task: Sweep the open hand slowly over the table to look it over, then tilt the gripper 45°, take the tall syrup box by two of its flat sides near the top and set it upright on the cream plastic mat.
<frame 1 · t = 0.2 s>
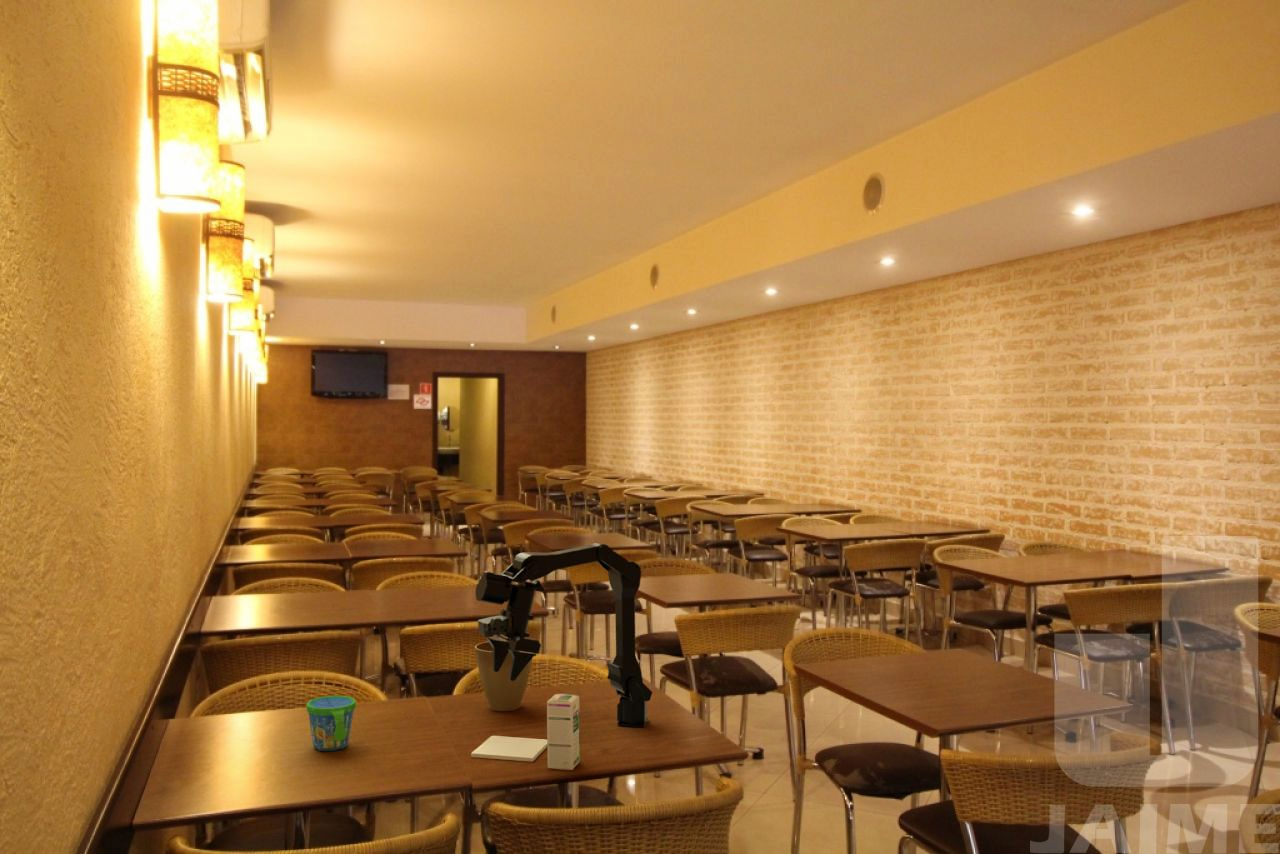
hand: (503, 676, 234), 15 cm above the table, tool pointing down, fingers open, 9 cm apart
plant pot: (504, 708, 263), on the table
syrup box: (563, 766, 220), on the table
cream mat: (511, 750, 229), on the table
snack cup: (331, 747, 231), on the table
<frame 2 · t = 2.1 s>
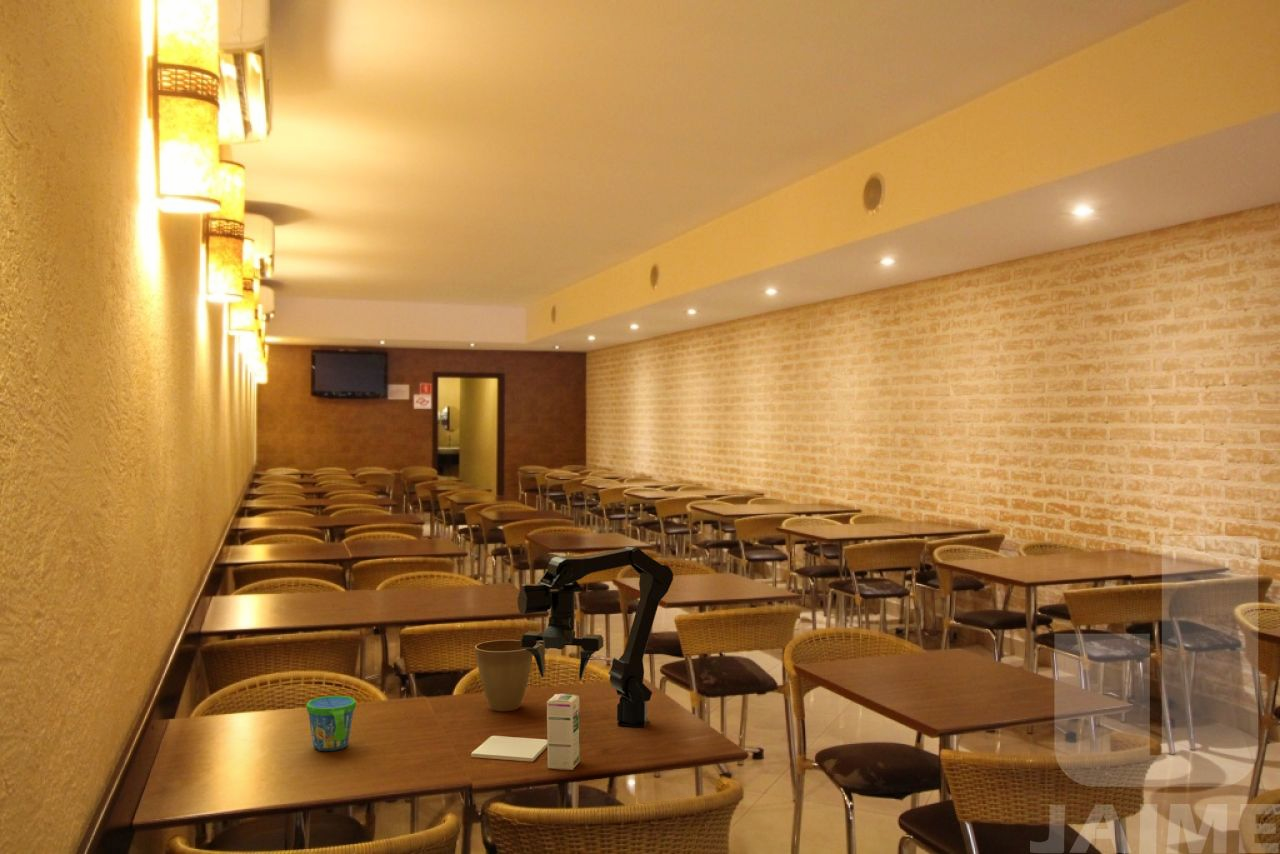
hand: (561, 677, 241), 13 cm above the table, tool pointing down, fingers open, 9 cm apart
nothing on the table moved.
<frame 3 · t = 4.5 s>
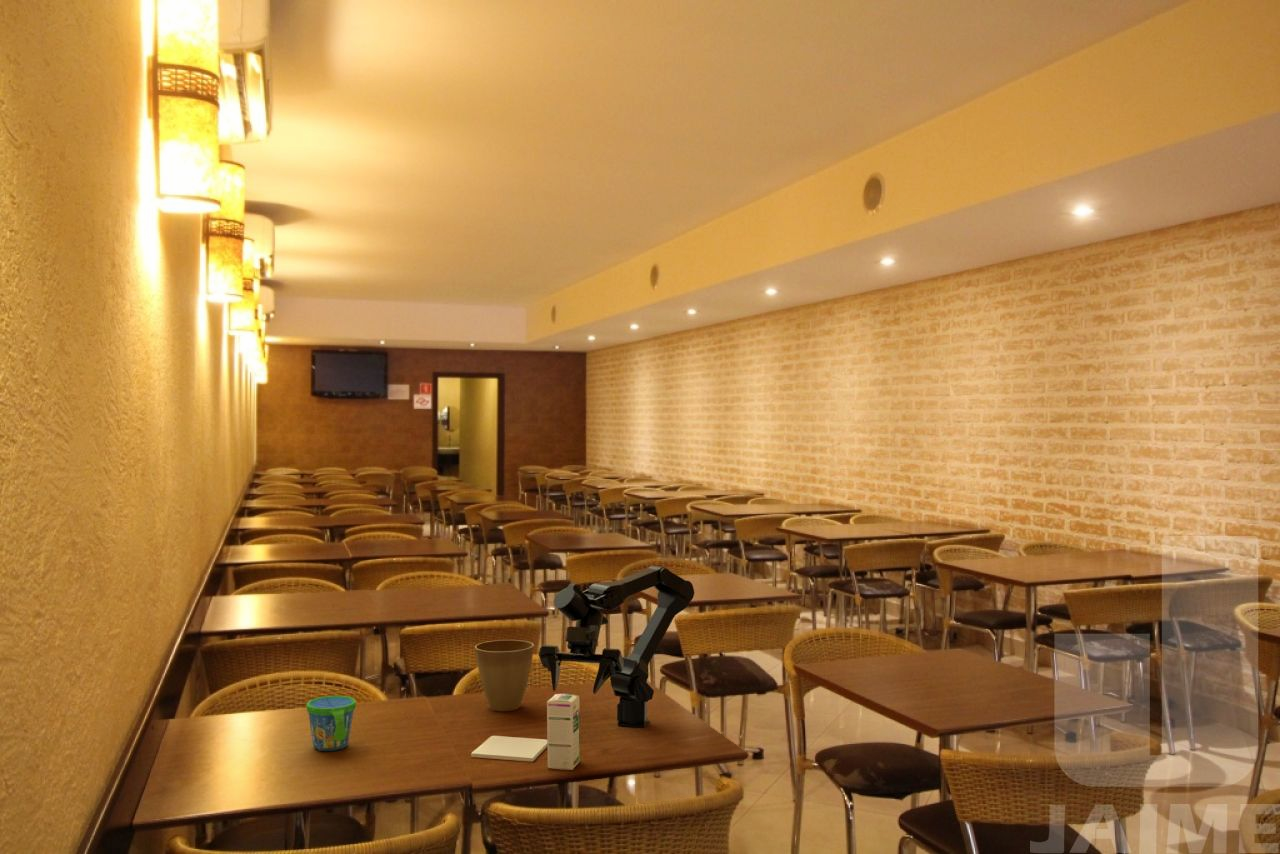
hand: (573, 691, 227), 14 cm above the table, tool tilted 45°, fingers open, 9 cm apart
nothing on the table moved.
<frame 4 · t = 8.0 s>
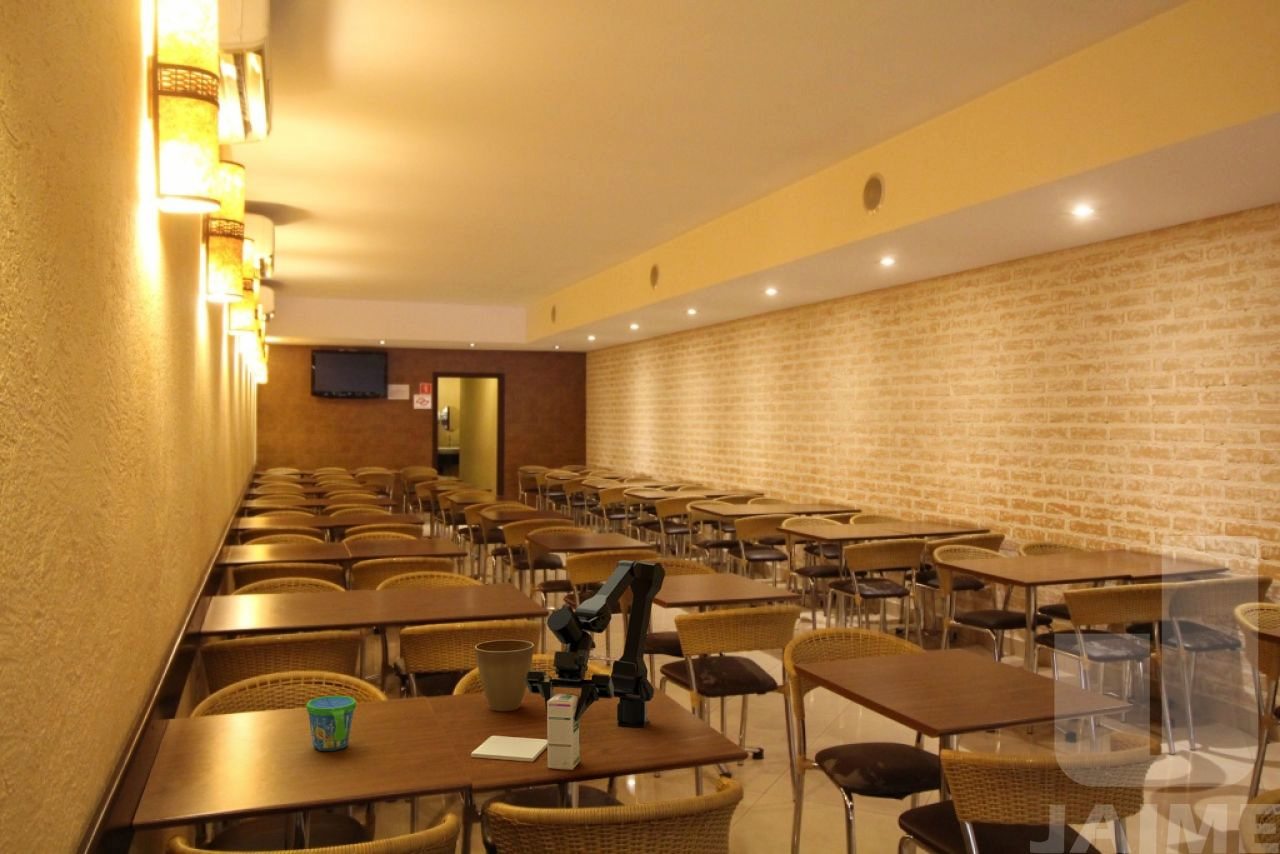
hand: (561, 719, 218), 10 cm above the table, tool tilted 45°, fingers closed on syrup box, 6 cm apart
syrup box: (563, 765, 220), on the table, touching gripper
everything else where it was.
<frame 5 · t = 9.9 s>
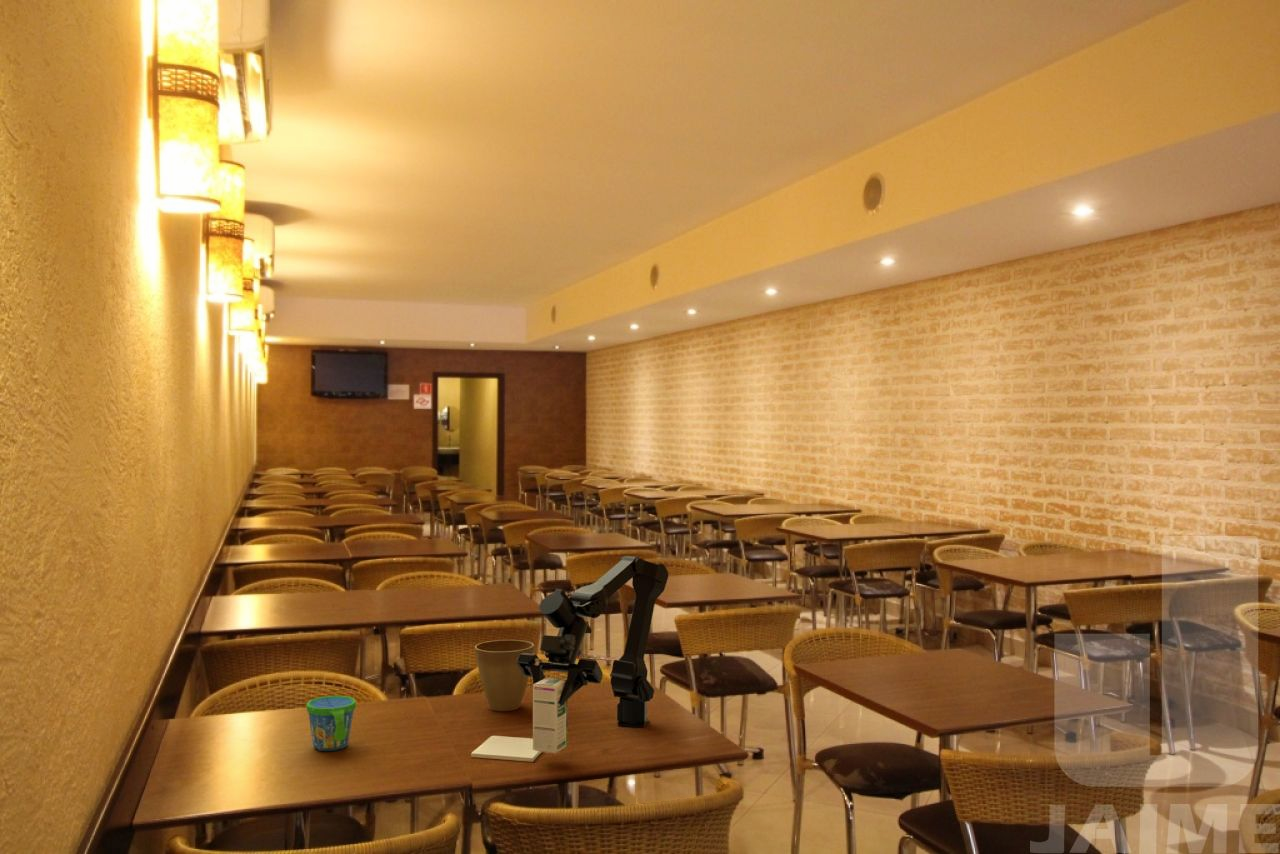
hand: (547, 702, 220), 13 cm above the table, tool tilted 45°, fingers closed on syrup box, 6 cm apart
syrup box: (549, 749, 221), point 3 cm above the table, touching gripper
everything else where it was.
when the fingers open (12 cm above the table, at t = 12.0 s): syrup box stays where it is, resting on cream mat.
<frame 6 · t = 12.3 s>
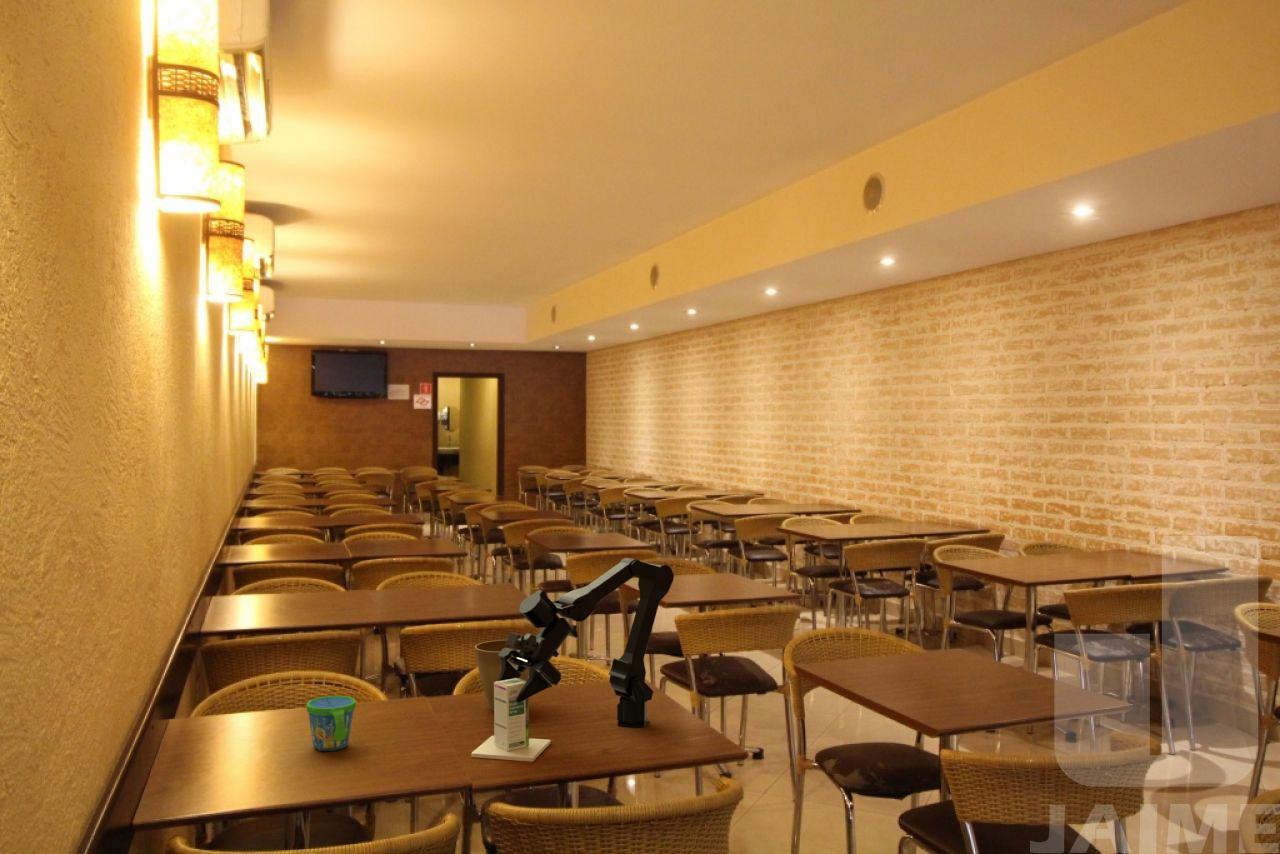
hand: (506, 696, 228), 12 cm above the table, tool tilted 45°, fingers open, 9 cm apart
syrup box: (511, 747, 229), point 1 cm above the table, touching cream mat
everything else where it was.
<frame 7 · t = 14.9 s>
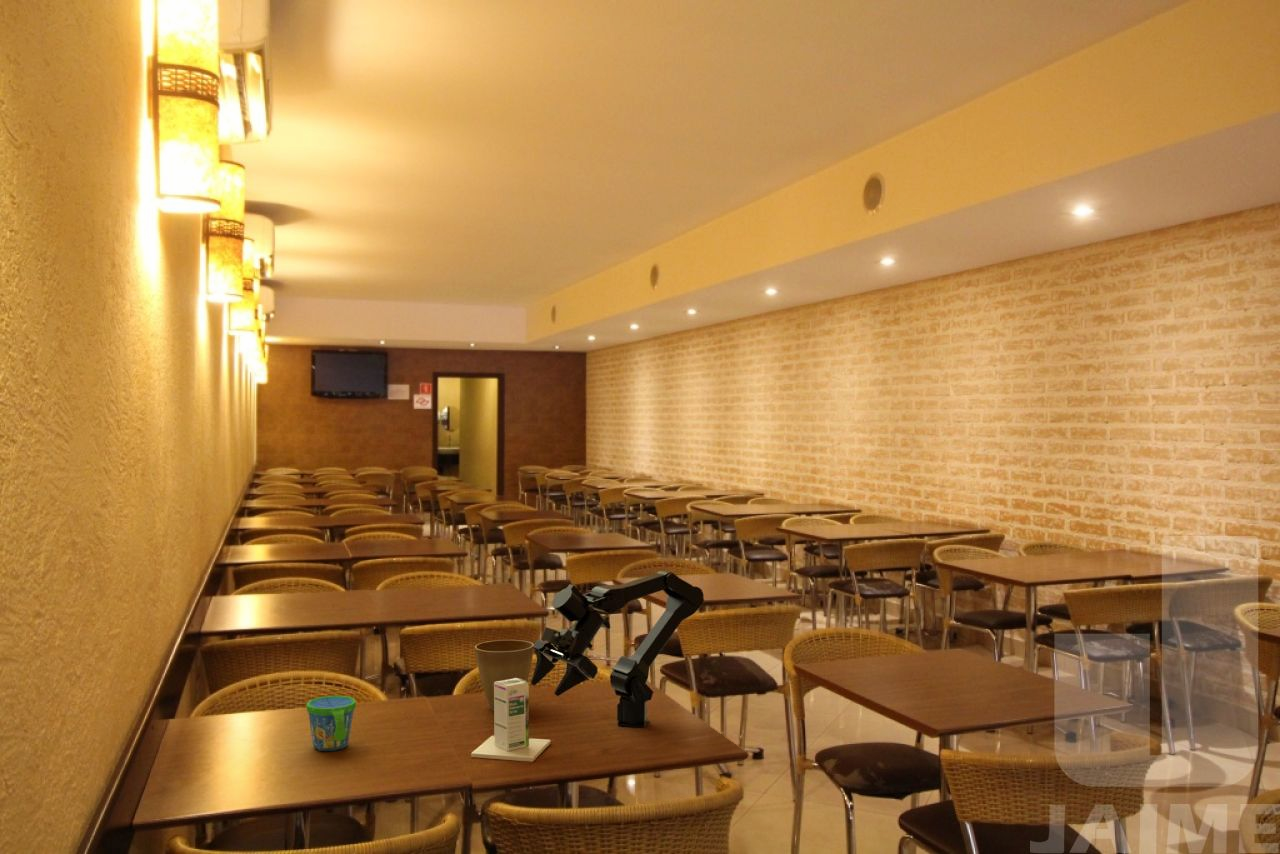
hand: (543, 689, 235), 12 cm above the table, tool tilted 40°, fingers open, 9 cm apart
nothing on the table moved.
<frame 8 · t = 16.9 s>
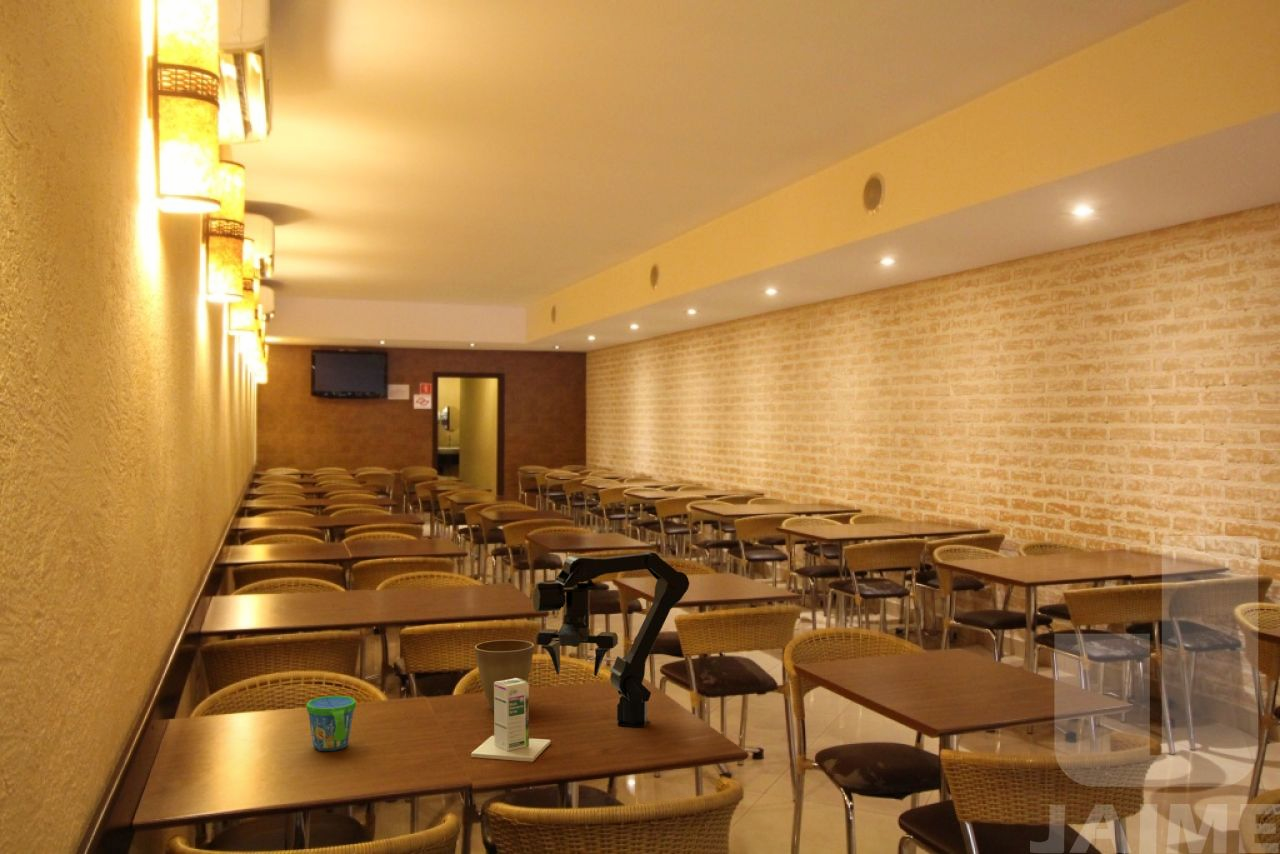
hand: (576, 674, 245), 13 cm above the table, tool pointing down, fingers open, 9 cm apart
nothing on the table moved.
at the end: syrup box inside the target area on the cream mat (0.1 cm from its centre), point 0.6 cm above the cream mat's base; syrup box tilted 0°; the gripper is holding nothing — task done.
